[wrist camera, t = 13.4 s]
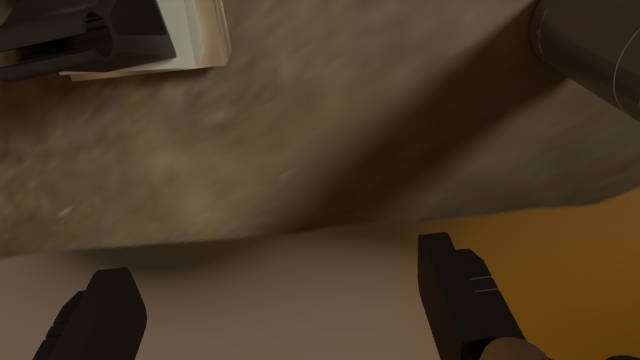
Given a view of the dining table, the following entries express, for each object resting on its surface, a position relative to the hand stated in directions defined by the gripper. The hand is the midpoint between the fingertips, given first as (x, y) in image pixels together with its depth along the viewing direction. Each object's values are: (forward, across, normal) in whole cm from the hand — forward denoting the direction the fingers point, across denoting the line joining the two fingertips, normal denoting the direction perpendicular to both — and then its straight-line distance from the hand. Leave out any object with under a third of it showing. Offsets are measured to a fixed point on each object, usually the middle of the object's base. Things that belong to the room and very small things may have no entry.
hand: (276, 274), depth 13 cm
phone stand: (+28, +12, -4) cm, 31 cm away
